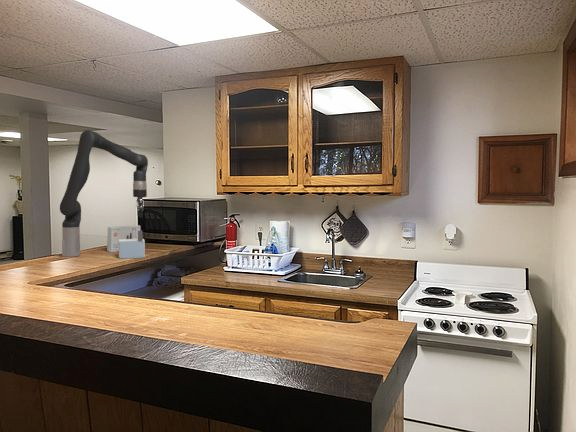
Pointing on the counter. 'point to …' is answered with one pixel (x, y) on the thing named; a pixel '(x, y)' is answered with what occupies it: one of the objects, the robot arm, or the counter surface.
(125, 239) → the carton
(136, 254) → the front flap
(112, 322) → the counter surface
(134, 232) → the skincare box
